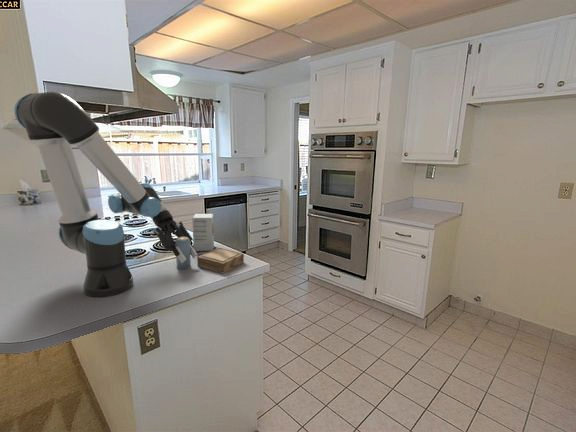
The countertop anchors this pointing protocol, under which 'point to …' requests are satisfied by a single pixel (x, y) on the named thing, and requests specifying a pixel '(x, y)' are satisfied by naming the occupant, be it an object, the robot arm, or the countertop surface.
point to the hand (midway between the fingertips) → (189, 258)
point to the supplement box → (203, 232)
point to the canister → (185, 249)
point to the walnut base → (220, 260)
